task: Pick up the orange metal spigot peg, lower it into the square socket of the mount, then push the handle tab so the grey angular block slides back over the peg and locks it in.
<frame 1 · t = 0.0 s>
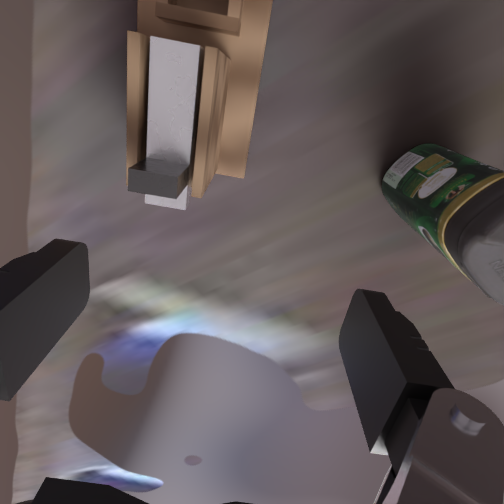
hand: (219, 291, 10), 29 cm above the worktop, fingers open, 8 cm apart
mount: (203, 37, 32), on the worktop
coffee jar: (421, 185, 38), on the worktop
grey angular block: (165, 134, 24), point 12 cm above the worktop, slide at 0.0 cm
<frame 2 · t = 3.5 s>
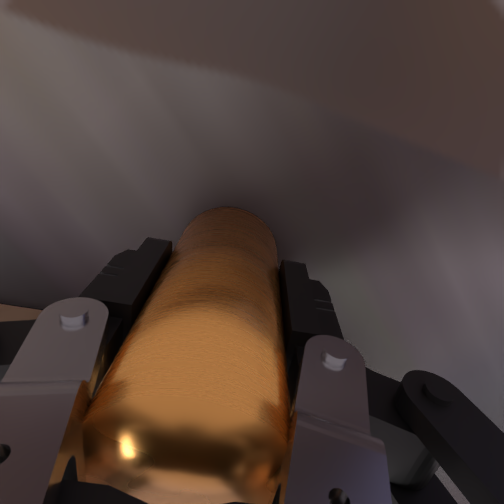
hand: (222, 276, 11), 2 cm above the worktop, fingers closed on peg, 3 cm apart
peg: (228, 253, 12), on the worktop, touching gripper
mount: (100, 415, 17), on the worktop
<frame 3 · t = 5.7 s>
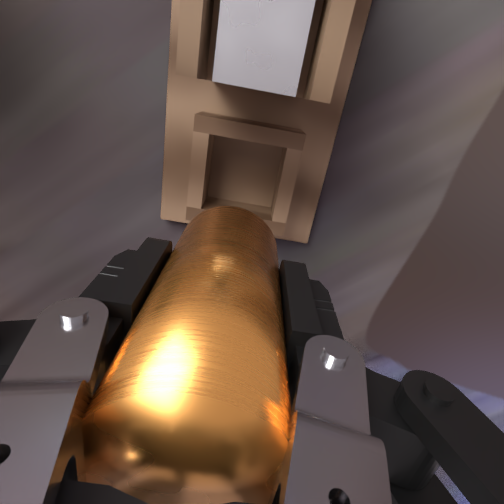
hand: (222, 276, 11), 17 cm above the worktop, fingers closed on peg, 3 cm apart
peg: (228, 252, 12), point 15 cm above the worktop, touching gripper
mount: (253, 111, 24), on the worktop
when the fingers open (5 cm above the worktop, at t = 8.1 s): peg drops 2 cm, resting on mount.
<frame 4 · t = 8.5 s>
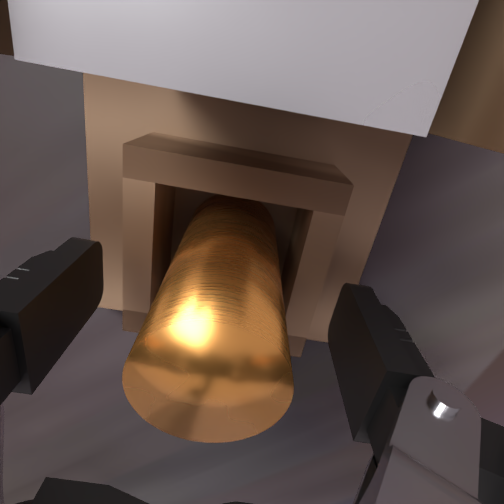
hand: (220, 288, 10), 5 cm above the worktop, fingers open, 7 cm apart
peg: (232, 233, 14), point 1 cm above the worktop, touching mount
mount: (248, 131, 13), on the worktop
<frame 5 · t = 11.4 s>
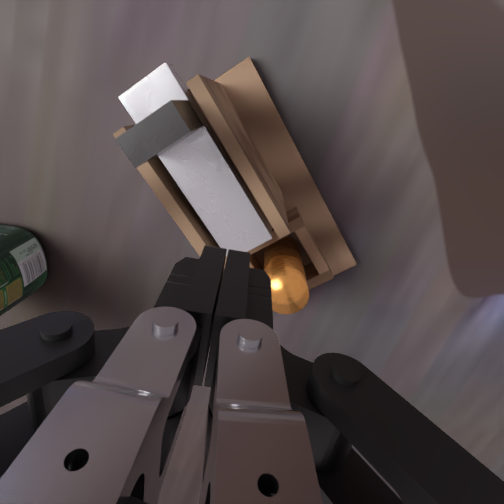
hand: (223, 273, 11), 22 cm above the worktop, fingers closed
peg: (282, 252, 34), point 1 cm above the worktop, touching mount
mount: (262, 216, 33), on the worktop
coffee jar: (8, 254, 36), on the worktop
grey angular block: (197, 177, 20), point 12 cm above the worktop, slide at 0.0 cm
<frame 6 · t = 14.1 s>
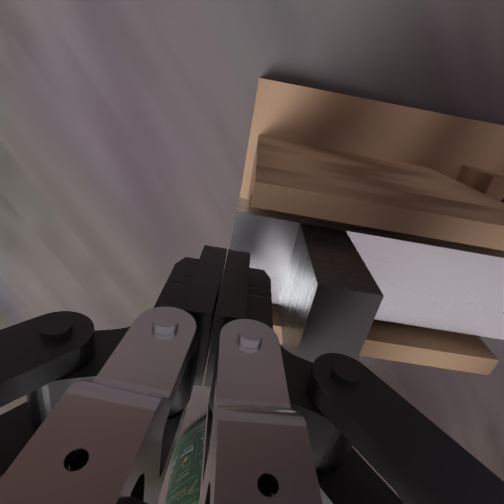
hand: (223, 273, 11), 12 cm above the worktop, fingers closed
mount: (424, 212, 23), on the worktop
coffee jar: (226, 435, 34), on the worktop
grey angular block: (402, 301, 11), point 12 cm above the worktop, slide at 1.1 cm, touching gripper
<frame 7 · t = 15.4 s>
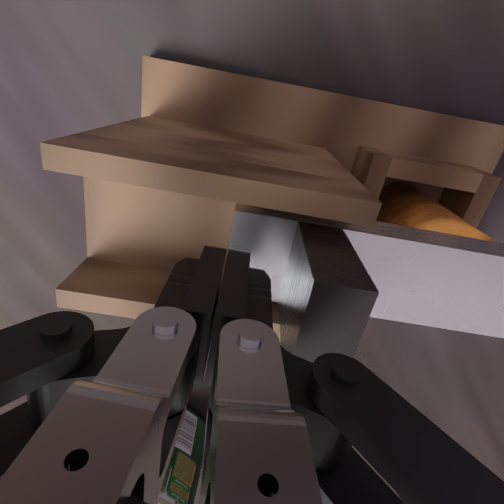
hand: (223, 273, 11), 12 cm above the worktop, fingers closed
peg: (394, 210, 22), point 1 cm above the worktop, touching mount
mount: (331, 195, 22), on the worktop
coffee jar: (162, 425, 34), on the worktop
grey angular block: (399, 299, 11), point 12 cm above the worktop, slide at 7.5 cm, touching gripper
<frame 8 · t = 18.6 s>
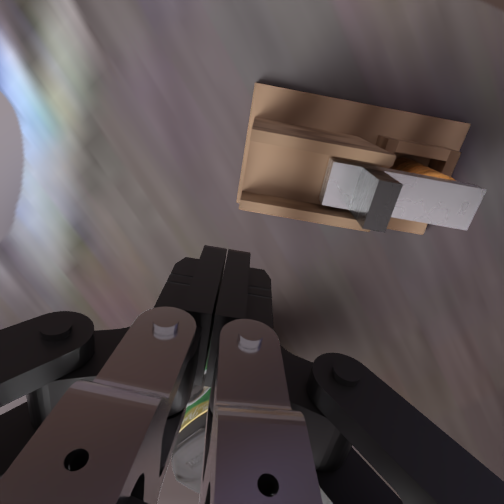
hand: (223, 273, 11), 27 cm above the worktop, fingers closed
peg: (399, 175, 35), point 1 cm above the worktop, touching mount
mount: (360, 166, 36), on the worktop
coffee jar: (233, 337, 47), on the worktop
grey angular block: (409, 202, 25), point 12 cm above the worktop, slide at 7.9 cm
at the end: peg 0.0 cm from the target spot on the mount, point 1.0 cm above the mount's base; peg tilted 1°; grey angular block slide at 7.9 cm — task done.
